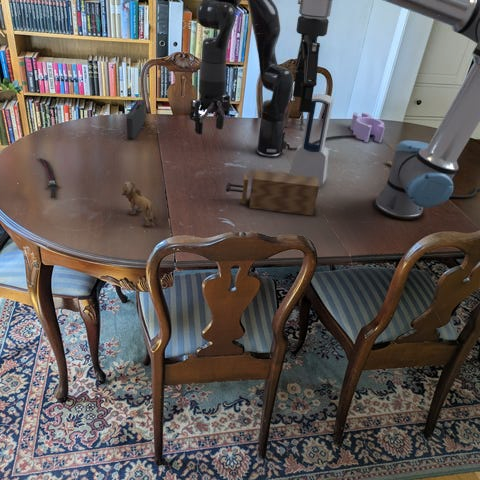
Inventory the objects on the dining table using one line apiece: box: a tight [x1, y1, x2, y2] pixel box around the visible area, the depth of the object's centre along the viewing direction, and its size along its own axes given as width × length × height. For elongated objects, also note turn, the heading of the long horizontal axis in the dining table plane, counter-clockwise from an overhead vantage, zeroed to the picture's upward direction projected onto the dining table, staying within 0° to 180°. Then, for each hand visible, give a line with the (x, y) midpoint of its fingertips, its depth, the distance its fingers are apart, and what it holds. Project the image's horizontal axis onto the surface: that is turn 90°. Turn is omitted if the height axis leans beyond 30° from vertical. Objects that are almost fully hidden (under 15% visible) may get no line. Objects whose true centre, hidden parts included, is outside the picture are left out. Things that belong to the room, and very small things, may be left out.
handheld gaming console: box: [126, 98, 146, 140], centre depth 191 cm, size 23×3×10 cm, turn 178°
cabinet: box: [249, 169, 320, 216], centre depth 146 cm, size 20×6×10 cm, turn 85°
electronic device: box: [288, 93, 335, 188], centre depth 159 cm, size 12×8×30 cm, turn 71°
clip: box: [349, 112, 386, 143], centre depth 214 cm, size 20×12×7 cm, turn 11°
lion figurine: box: [119, 181, 159, 227], centre depth 134 cm, size 15×5×9 cm, turn 50°
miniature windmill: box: [284, 64, 305, 130], centre depth 209 cm, size 9×8×30 cm
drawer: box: [225, 172, 253, 205], centre depth 147 cm, size 24×5×8 cm, turn 85°
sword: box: [40, 158, 59, 198], centre depth 151 cm, size 31×3×1 cm, turn 26°
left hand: (209, 131), depth 144 cm, fingers open, 8 cm apart
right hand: (300, 103), depth 125 cm, fingers open, 13 cm apart
